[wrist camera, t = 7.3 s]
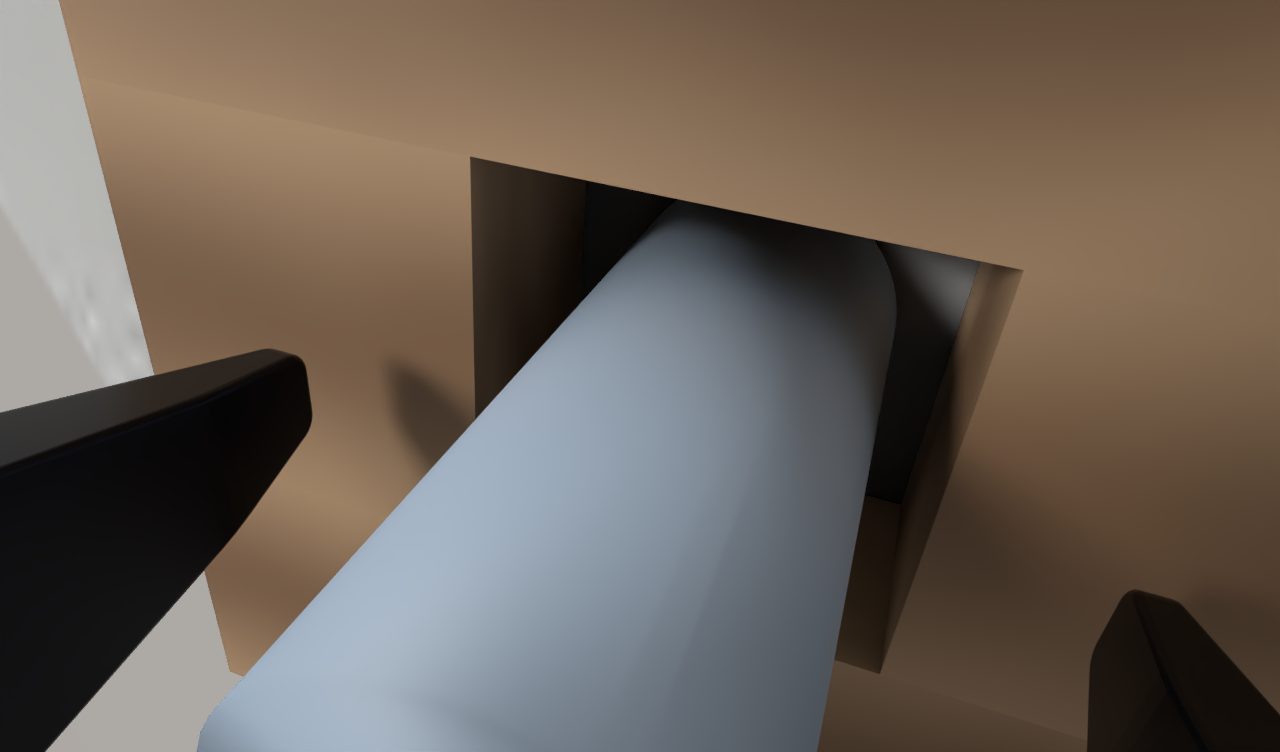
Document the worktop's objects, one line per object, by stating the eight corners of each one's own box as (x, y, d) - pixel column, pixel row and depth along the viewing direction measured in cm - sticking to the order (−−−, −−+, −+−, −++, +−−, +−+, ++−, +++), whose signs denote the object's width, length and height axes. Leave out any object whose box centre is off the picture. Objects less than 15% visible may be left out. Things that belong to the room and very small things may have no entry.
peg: (861, 451, 14) (718, 1153, 6) (620, 388, 14) (247, 934, 7) (930, 209, 11) (835, 846, 4) (642, 152, 12) (138, 589, 5)
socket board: (1126, 809, 15) (1158, 1027, 12) (342, 549, 19) (229, 671, 16) (1919, -366, 7) (2605, -529, 4) (211, -429, 10) (-79, -538, 8)
